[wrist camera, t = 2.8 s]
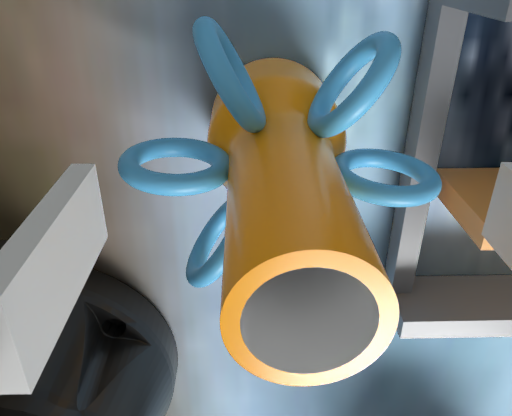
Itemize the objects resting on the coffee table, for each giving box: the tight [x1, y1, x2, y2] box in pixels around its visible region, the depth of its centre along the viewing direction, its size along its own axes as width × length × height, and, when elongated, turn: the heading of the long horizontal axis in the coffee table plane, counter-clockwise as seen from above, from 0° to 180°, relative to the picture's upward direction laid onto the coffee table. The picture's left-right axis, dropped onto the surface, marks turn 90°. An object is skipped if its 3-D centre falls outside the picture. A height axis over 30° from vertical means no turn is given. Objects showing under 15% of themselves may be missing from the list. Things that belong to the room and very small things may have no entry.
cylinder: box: [118, 16, 442, 387], centre depth 17 cm, size 12×10×15 cm
